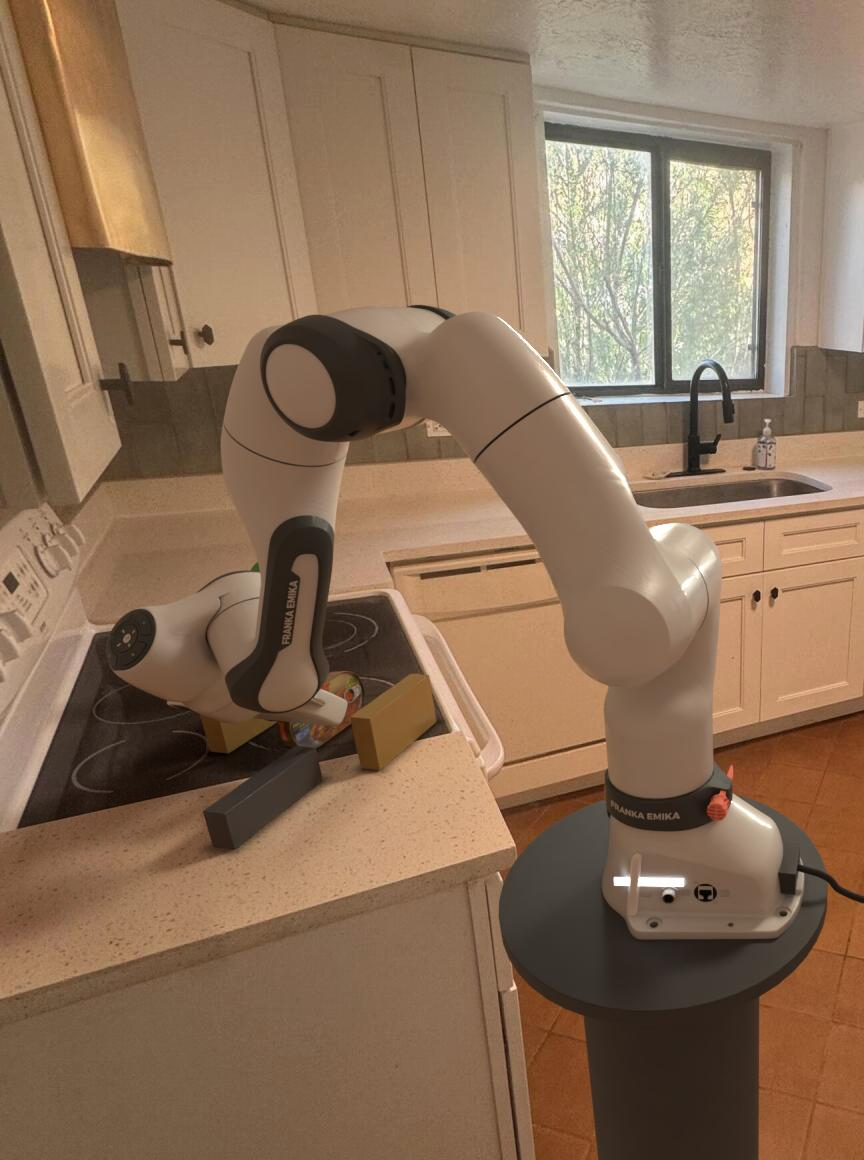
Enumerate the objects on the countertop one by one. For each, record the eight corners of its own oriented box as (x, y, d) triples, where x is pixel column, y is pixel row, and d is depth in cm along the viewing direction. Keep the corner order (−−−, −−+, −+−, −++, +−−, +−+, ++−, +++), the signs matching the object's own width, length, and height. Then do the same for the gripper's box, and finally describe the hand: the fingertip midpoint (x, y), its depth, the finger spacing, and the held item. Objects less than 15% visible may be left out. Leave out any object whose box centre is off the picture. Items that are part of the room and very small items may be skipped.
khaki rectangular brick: (436, 722, 120) (429, 674, 117) (380, 770, 107) (369, 718, 104) (419, 720, 120) (410, 673, 117) (360, 768, 107) (349, 716, 104)
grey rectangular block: (323, 780, 105) (316, 747, 103) (234, 850, 91) (224, 813, 89) (303, 777, 105) (296, 745, 103) (212, 847, 91) (201, 811, 90)
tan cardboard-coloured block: (298, 708, 124) (288, 662, 121) (228, 753, 111) (214, 703, 108) (282, 706, 124) (271, 661, 121) (210, 751, 111) (195, 701, 109)
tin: (299, 761, 109) (286, 707, 106) (280, 758, 110) (267, 704, 107) (370, 711, 123) (361, 662, 120) (353, 709, 123) (343, 660, 120)
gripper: (315, 669, 98) (377, 704, 110) (176, 657, 101) (251, 692, 114) (297, 718, 95) (363, 747, 108) (155, 703, 99) (234, 734, 111)
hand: (304, 719), depth 111 cm, fingers open, 8 cm apart
